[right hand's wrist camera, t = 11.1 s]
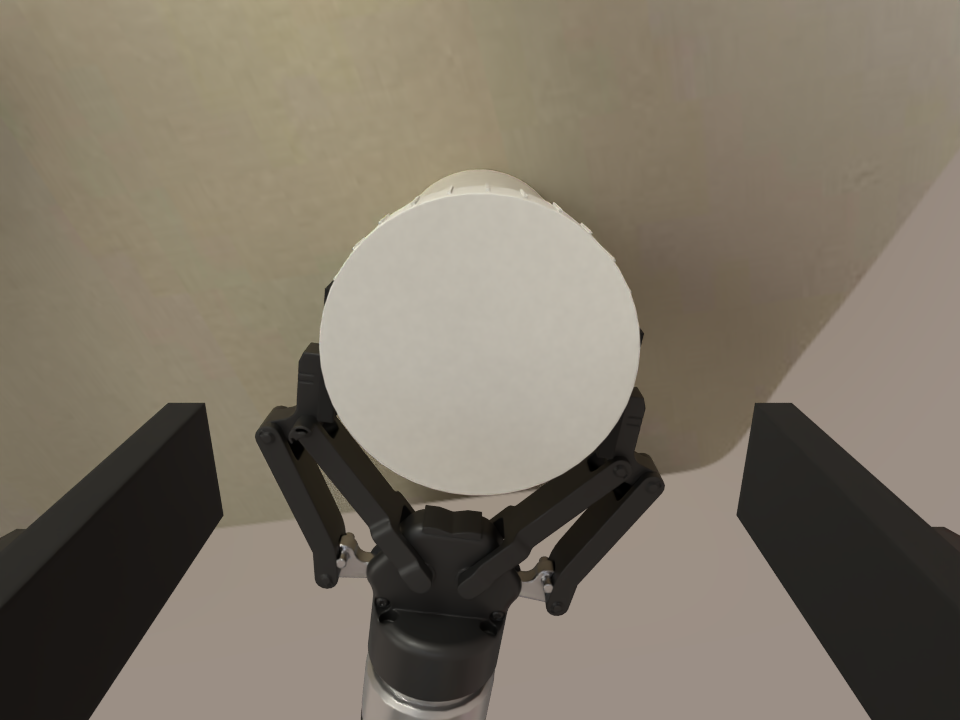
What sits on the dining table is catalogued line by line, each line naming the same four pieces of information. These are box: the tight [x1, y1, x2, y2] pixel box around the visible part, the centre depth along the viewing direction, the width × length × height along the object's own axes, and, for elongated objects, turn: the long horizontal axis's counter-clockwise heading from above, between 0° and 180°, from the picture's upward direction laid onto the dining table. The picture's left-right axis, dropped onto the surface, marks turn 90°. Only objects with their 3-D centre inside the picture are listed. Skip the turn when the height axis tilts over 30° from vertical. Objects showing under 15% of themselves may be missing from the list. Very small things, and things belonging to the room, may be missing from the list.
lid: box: [319, 183, 640, 495], centre depth 21 cm, size 10×10×2 cm
